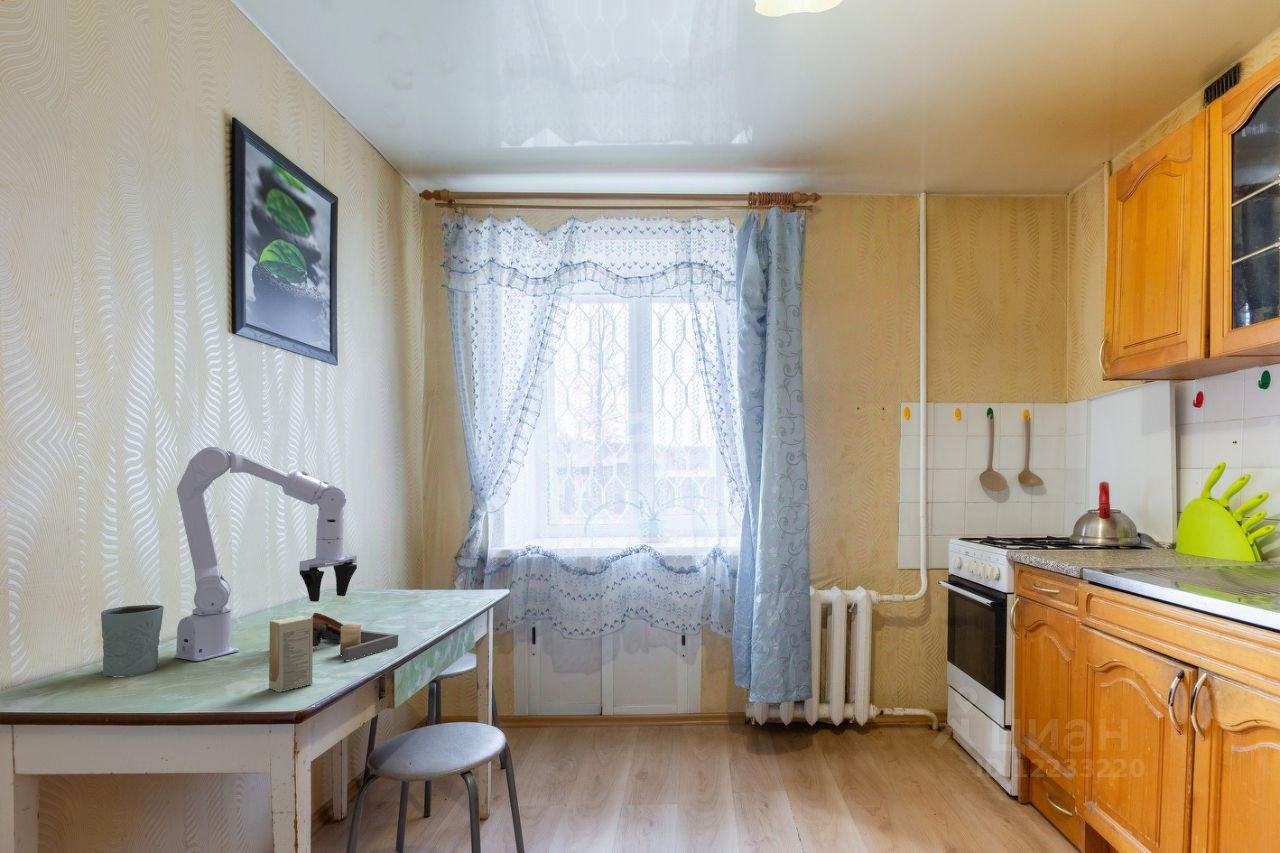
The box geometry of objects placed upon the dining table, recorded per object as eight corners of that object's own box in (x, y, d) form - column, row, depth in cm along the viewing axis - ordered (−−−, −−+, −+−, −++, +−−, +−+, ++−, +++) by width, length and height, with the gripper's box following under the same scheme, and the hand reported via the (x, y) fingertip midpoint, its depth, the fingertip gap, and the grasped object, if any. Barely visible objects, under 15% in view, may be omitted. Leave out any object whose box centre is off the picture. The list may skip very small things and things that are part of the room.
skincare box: (301, 680, 134) (303, 614, 134) (313, 685, 131) (315, 617, 132) (266, 688, 129) (268, 619, 129) (277, 693, 126) (279, 623, 127)
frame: (348, 661, 147) (348, 649, 147) (272, 649, 156) (272, 638, 156) (397, 646, 160) (398, 634, 160) (325, 636, 169) (325, 625, 169)
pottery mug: (290, 645, 162) (310, 611, 166) (330, 662, 164) (348, 627, 168) (287, 643, 152) (308, 606, 155) (329, 661, 153) (349, 624, 157)
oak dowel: (349, 657, 150) (350, 628, 150) (335, 655, 152) (336, 626, 152) (364, 653, 154) (365, 625, 154) (350, 651, 155) (351, 623, 156)
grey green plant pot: (111, 681, 133) (114, 616, 133) (88, 672, 138) (91, 610, 139) (170, 668, 141) (173, 607, 142) (147, 661, 147) (149, 602, 147)
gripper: (316, 542, 156) (314, 605, 155) (366, 536, 169) (365, 594, 169) (293, 540, 159) (291, 602, 158) (344, 535, 172) (343, 592, 171)
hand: (328, 598), depth 164 cm, fingers open, 7 cm apart
